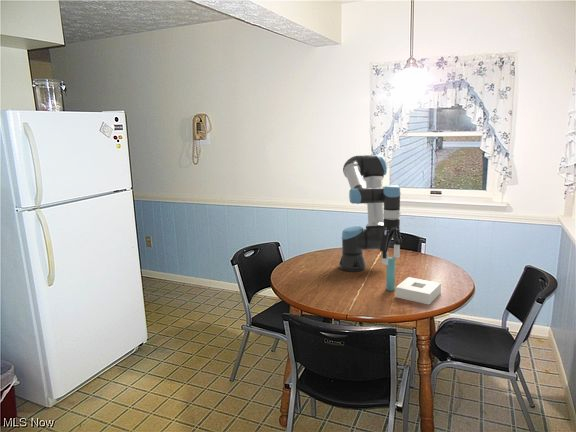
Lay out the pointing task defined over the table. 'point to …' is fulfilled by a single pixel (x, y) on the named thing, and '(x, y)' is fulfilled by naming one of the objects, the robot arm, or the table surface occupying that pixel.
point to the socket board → (418, 290)
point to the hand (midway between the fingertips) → (391, 261)
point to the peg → (390, 274)
